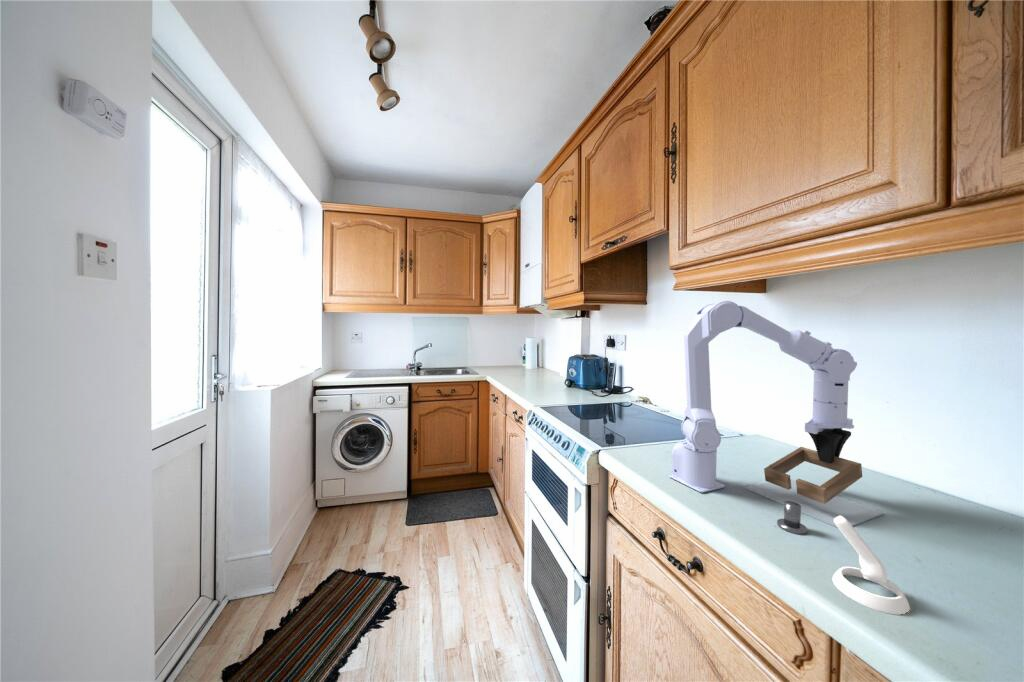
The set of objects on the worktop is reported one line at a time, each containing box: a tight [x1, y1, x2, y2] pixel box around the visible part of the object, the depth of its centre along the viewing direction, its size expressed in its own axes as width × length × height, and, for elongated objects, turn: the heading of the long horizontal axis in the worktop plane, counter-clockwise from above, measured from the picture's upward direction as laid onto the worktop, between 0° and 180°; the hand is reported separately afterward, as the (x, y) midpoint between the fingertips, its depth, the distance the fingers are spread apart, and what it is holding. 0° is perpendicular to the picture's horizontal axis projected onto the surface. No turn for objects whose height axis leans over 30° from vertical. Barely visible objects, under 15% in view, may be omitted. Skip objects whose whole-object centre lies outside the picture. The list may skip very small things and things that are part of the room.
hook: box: [831, 515, 911, 616], centre depth 50 cm, size 8×12×7 cm
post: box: [776, 501, 808, 535], centre depth 65 cm, size 4×4×4 cm
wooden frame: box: [763, 446, 863, 504], centre depth 75 cm, size 11×14×3 cm
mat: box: [745, 479, 885, 529], centre depth 75 cm, size 18×15×1 cm
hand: (828, 461), depth 77 cm, fingers closed on wooden frame
